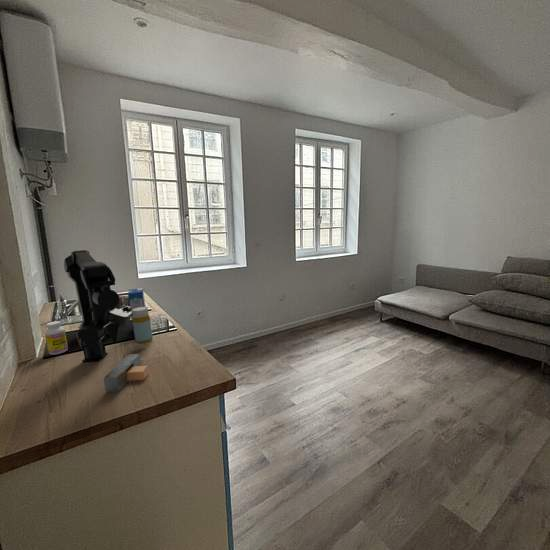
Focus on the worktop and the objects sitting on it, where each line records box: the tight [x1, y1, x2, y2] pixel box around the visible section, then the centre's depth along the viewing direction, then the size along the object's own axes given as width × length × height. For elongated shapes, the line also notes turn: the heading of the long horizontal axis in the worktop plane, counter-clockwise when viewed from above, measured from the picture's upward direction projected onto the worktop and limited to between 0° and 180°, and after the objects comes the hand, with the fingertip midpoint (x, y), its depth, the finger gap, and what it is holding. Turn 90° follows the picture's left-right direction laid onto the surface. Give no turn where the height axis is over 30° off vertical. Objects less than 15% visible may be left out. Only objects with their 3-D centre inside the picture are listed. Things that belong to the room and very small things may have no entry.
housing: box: [103, 353, 142, 393], centre depth 96 cm, size 4×16×5 cm, turn 2°
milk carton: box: [127, 287, 146, 334], centre depth 141 cm, size 10×6×20 cm, turn 23°
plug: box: [126, 365, 149, 382], centre depth 97 cm, size 10×4×3 cm, turn 93°
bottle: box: [132, 306, 154, 345], centre depth 127 cm, size 7×7×15 cm
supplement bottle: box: [44, 320, 69, 356], centre depth 119 cm, size 7×7×13 cm
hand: (108, 348), depth 94 cm, fingers open, 9 cm apart
